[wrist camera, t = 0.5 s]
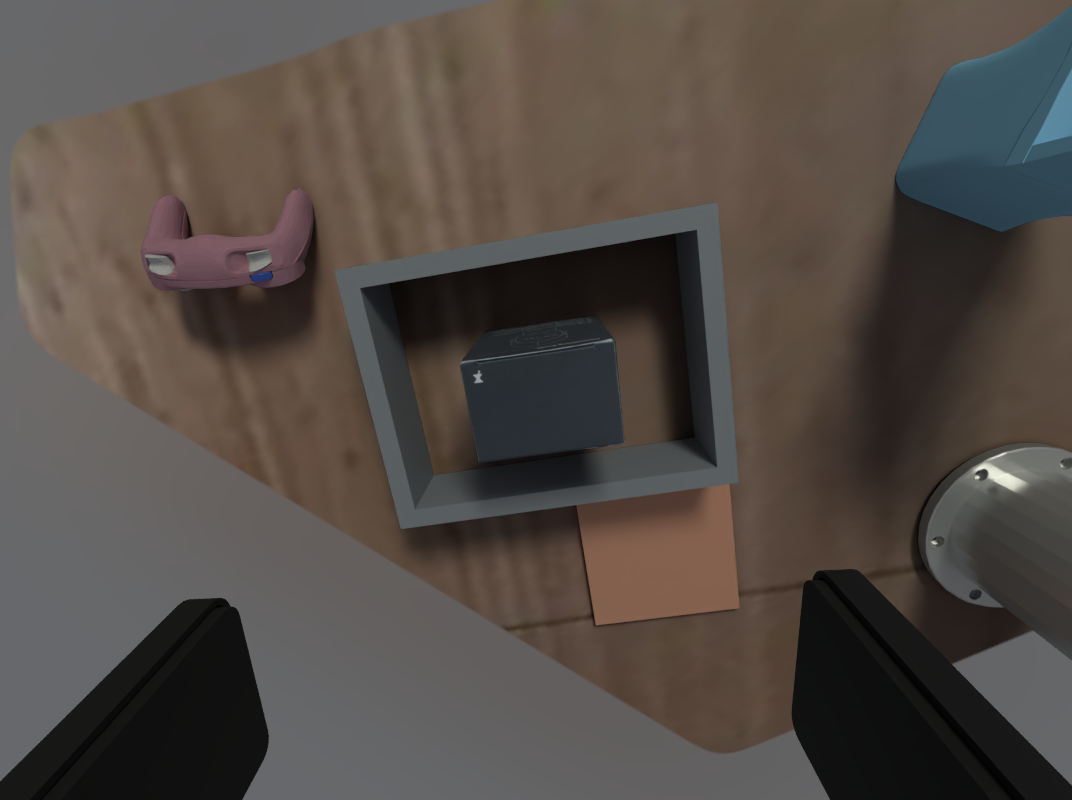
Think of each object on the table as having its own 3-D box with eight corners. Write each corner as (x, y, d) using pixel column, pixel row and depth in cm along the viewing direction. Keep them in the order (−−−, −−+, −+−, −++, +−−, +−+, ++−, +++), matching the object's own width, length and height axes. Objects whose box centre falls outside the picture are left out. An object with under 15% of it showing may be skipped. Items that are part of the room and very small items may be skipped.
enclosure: (692, 210, 34) (717, 202, 28) (712, 450, 38) (738, 482, 33) (367, 267, 35) (334, 270, 30) (421, 492, 40) (401, 529, 34)
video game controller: (195, 255, 37) (139, 310, 32) (161, 190, 34) (92, 238, 29) (334, 249, 37) (300, 304, 32) (313, 182, 34) (270, 230, 28)
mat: (726, 472, 38) (728, 475, 38) (736, 603, 41) (739, 608, 41) (574, 493, 39) (574, 497, 39) (595, 620, 42) (595, 625, 41)
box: (497, 408, 38) (475, 465, 28) (483, 329, 36) (455, 359, 26) (607, 394, 37) (627, 447, 27) (598, 313, 36) (616, 336, 26)
